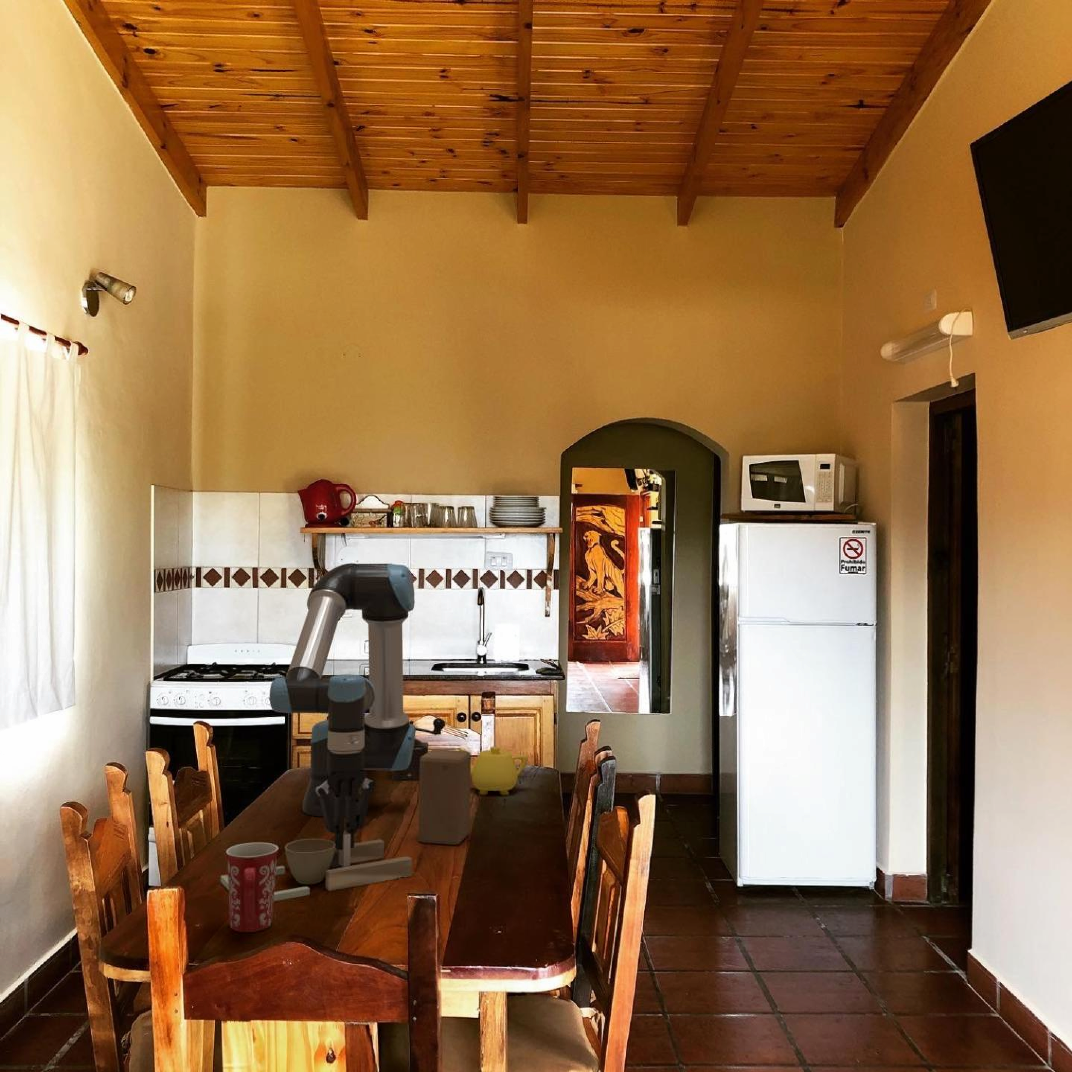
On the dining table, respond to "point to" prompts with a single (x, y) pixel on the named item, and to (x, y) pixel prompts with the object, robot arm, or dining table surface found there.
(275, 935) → the dining table surface
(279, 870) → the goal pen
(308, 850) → the flower pot
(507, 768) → the teapot
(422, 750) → the manual coffee grinder
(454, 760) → the wooden block
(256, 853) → the mug
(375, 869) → the twin plank rack
